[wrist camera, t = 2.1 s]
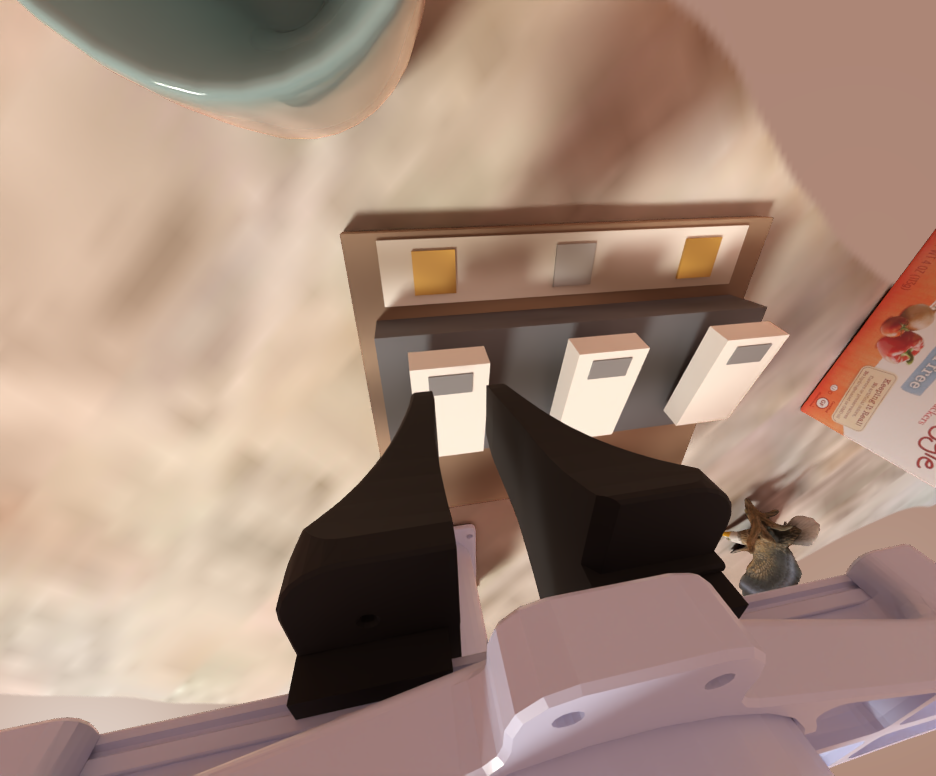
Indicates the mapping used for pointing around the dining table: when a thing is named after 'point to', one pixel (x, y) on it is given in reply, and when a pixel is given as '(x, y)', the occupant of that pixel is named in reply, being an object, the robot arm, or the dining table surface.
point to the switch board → (548, 314)
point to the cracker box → (890, 375)
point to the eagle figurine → (772, 549)
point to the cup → (250, 55)
